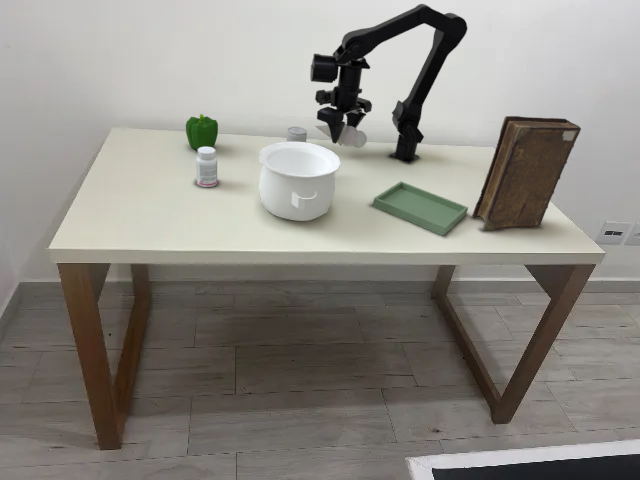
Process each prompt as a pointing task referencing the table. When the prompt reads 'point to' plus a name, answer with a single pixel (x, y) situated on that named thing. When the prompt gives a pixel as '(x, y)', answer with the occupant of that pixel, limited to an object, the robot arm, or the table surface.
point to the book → (525, 171)
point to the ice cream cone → (347, 136)
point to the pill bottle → (206, 167)
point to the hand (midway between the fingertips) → (341, 140)
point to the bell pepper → (201, 132)
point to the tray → (421, 207)
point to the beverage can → (296, 134)
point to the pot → (297, 179)
